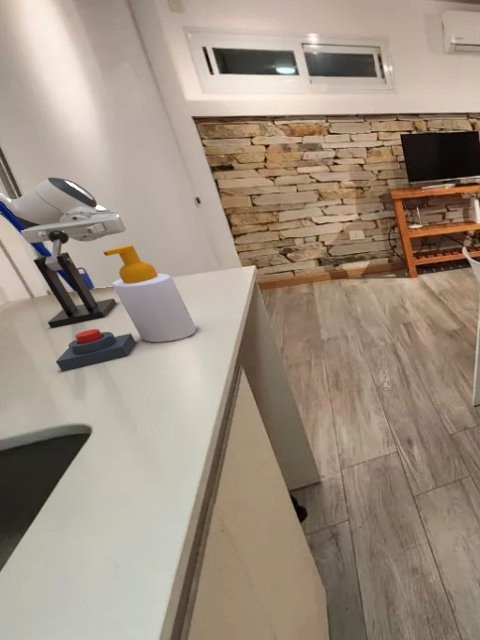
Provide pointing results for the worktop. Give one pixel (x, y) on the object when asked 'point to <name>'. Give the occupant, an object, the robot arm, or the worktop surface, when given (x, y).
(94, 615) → the worktop surface
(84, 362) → the button block
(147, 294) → the soap bottle
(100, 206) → the robot arm
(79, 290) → the black stand
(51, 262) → the lever
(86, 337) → the button
